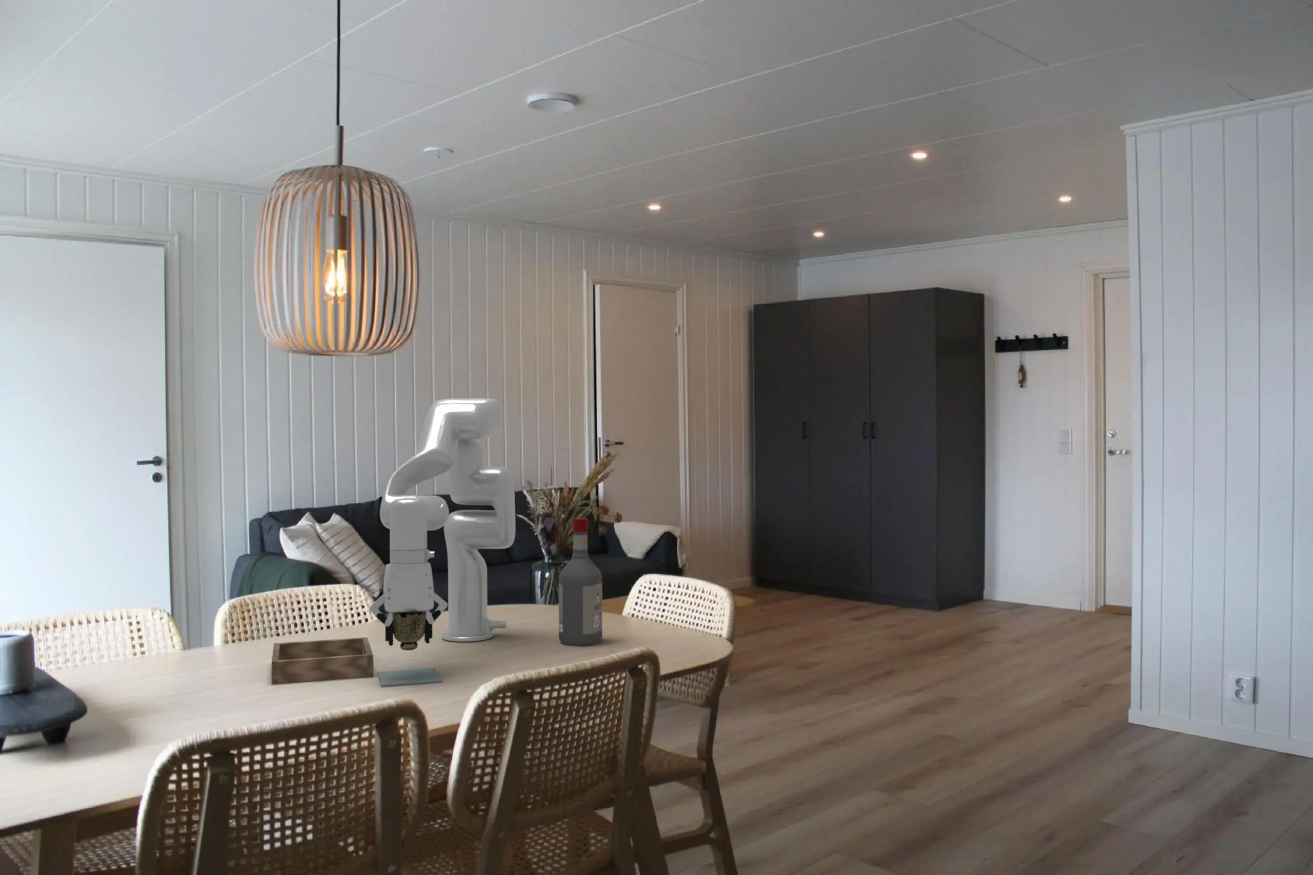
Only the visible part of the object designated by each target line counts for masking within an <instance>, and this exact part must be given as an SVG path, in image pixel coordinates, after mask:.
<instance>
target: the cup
mask: <svg viewBox="0 0 1313 875" xmlns="http://www.w3.org/2000/svg"><path fill="white" fill-rule="evenodd" d="M426 614H427V613H426V612H425V613H423V612H414V613H396V614H394V613H392V616H393V620H392V622H391V623H392V626H393V638H394V639H395V640H396V641H397V642H399V643H400V644H399V648H400V649H401V650H403V651H414V650H417V648H418V646H419V644H418V642H419V641H421V639H422V638H424V632H425V626H426Z"/></svg>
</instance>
